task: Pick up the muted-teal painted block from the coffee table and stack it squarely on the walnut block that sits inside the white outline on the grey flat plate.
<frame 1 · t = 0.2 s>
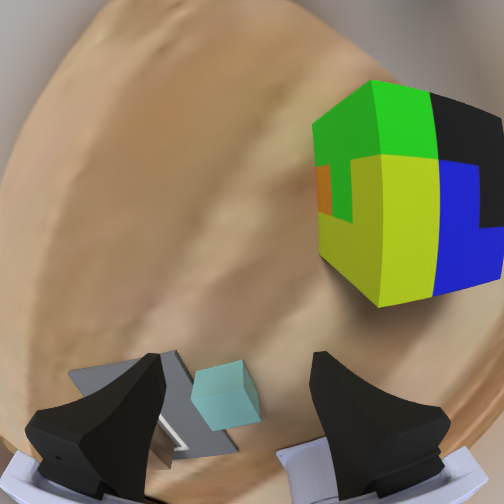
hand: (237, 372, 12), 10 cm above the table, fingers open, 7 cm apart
wooden figurine on stand: (140, 501, 31), on the table
grey flat plate: (153, 417, 24), on the table
walnut block: (146, 433, 24), point 1 cm above the table, touching grey flat plate
puzzle toy: (373, 188, 20), on the table
teal block: (227, 382, 24), on the table
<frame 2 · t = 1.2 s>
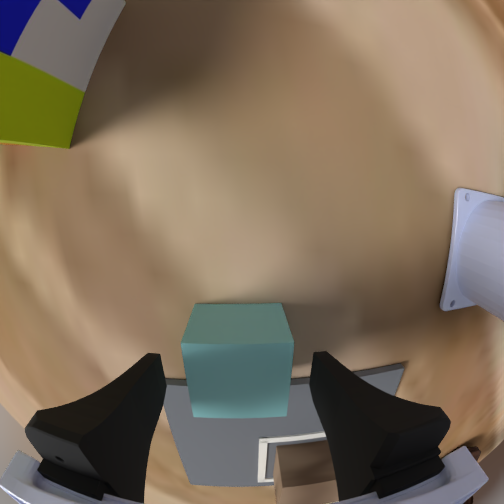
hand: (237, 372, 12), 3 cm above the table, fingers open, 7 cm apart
grey flat plate: (281, 442, 17), on the table
walnut block: (305, 458, 17), point 1 cm above the table, touching grey flat plate
puzzle toy: (41, 73, 10), on the table
teal block: (238, 339, 15), on the table
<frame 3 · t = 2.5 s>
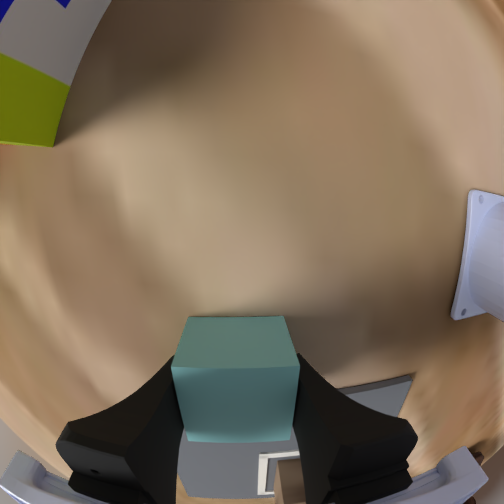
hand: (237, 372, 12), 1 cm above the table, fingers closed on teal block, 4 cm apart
grey flat plate: (282, 457, 16), on the table
walnut block: (307, 471, 16), point 1 cm above the table, touching grey flat plate
puzzle toy: (27, 68, 9), on the table
teal block: (236, 355, 13), on the table, touching gripper
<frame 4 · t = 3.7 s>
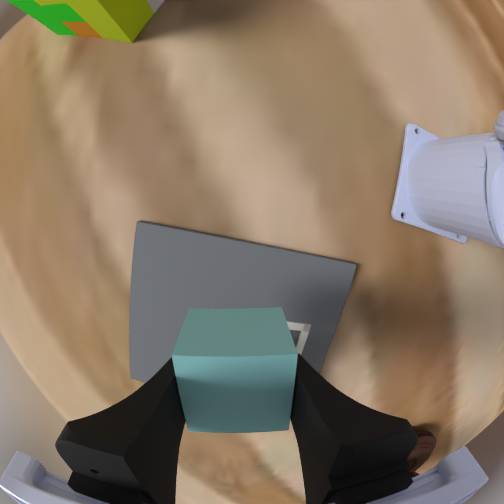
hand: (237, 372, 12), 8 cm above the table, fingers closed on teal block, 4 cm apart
wooden figurine on stand: (386, 456, 27), on the table
grey flat plate: (231, 329, 21), on the table
teal block: (236, 347, 14), point 7 cm above the table, touching gripper
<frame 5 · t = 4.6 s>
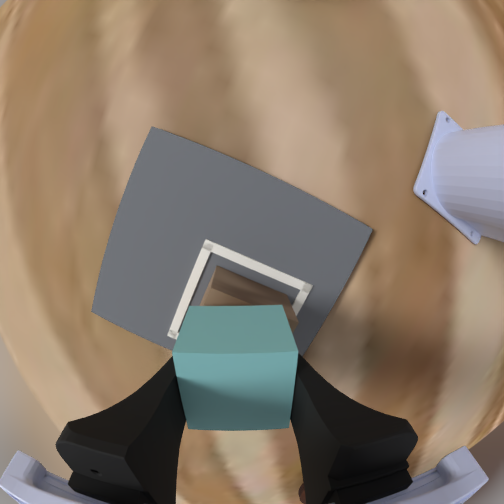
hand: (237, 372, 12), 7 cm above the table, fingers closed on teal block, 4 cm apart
grey flat plate: (221, 272, 18), on the table
walnut block: (237, 312, 18), point 1 cm above the table, touching grey flat plate
teal block: (236, 344, 14), point 5 cm above the table, touching gripper
when the fingers open (7 cm above the table, at t = 5.2 s): teal block stays where it is, resting on walnut block.
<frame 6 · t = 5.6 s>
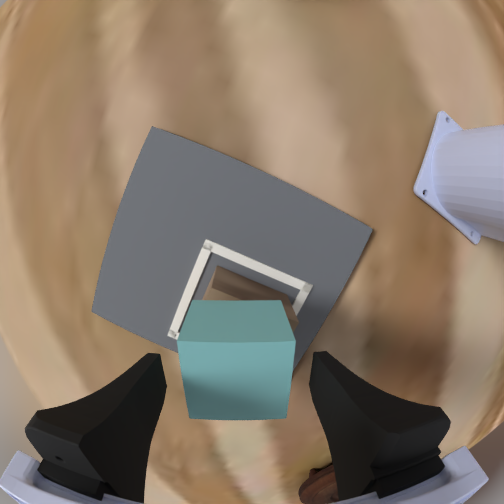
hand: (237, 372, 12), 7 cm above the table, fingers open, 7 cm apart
wooden figurine on stand: (350, 470, 26), on the table
grey flat plate: (221, 272, 18), on the table
walnut block: (237, 312, 18), point 1 cm above the table, touching grey flat plate, teal block
teal block: (236, 338, 14), point 5 cm above the table, touching walnut block
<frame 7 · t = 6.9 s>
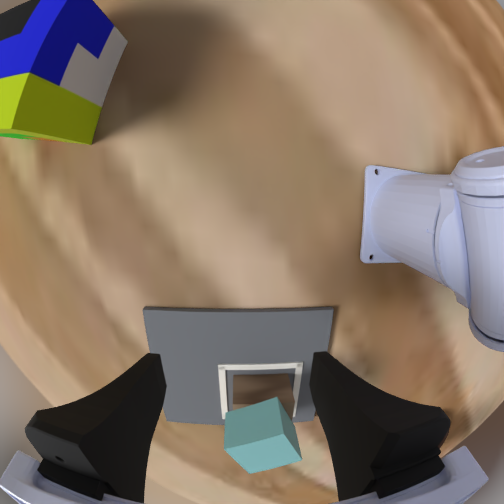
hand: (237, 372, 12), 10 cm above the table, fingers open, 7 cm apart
grey flat plate: (238, 374, 24), on the table
walnut block: (259, 393, 24), point 1 cm above the table, touching grey flat plate, teal block
puzzle toy: (67, 90, 17), on the table
teal block: (261, 420, 20), point 5 cm above the table, touching walnut block
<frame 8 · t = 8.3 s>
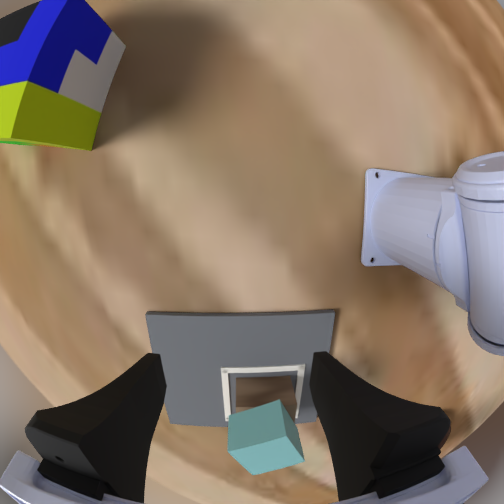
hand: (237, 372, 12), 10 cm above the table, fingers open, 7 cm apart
grey flat plate: (241, 377, 24), on the table
walnut block: (262, 395, 24), point 1 cm above the table, touching grey flat plate, teal block
puzzle toy: (66, 95, 17), on the table
teal block: (264, 422, 20), point 5 cm above the table, touching walnut block
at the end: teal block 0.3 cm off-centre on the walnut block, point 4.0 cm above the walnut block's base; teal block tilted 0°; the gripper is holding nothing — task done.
